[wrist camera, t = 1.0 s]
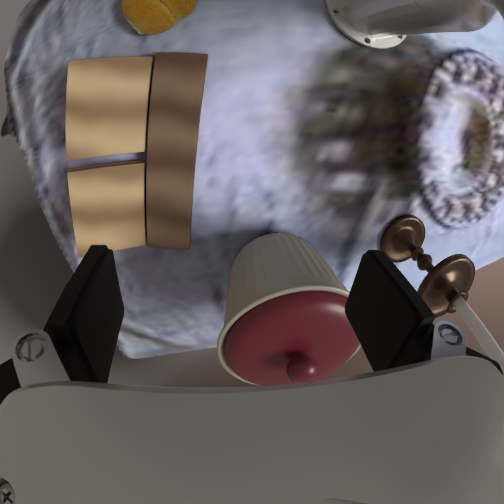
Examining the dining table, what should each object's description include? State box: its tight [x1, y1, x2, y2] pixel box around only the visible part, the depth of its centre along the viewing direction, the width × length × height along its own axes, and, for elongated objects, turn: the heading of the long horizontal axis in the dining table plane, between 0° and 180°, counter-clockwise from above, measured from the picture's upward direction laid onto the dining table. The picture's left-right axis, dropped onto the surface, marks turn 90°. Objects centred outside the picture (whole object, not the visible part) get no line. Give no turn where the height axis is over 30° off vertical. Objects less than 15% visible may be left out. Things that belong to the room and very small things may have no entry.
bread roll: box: [121, 0, 197, 35], centre depth 22 cm, size 8×9×4 cm
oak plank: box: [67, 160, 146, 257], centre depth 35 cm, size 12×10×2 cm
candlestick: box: [381, 215, 504, 376], centre depth 31 cm, size 11×11×35 cm
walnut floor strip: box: [146, 53, 208, 250], centre depth 34 cm, size 26×6×2 cm, turn 171°
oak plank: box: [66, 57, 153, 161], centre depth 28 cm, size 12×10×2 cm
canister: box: [217, 232, 361, 386], centre depth 37 cm, size 18×18×21 cm
